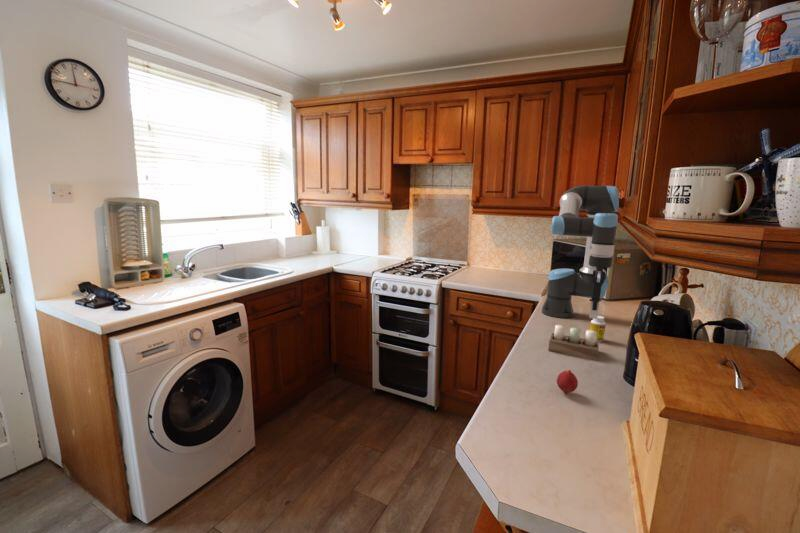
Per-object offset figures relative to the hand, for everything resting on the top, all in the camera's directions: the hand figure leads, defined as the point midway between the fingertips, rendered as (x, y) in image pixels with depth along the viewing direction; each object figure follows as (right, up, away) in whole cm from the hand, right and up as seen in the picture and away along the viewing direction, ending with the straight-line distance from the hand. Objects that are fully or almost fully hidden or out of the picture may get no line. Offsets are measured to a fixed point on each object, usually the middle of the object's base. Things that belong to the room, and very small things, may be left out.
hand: (593, 317), depth 142 cm
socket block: (-5, -14, +6) cm, 16 cm away
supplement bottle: (+10, -12, +18) cm, 24 cm away
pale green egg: (-5, -10, +5) cm, 12 cm away
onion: (-22, -20, -27) cm, 40 cm away
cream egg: (-10, -9, +7) cm, 15 cm away
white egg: (0, -10, +2) cm, 11 cm away
